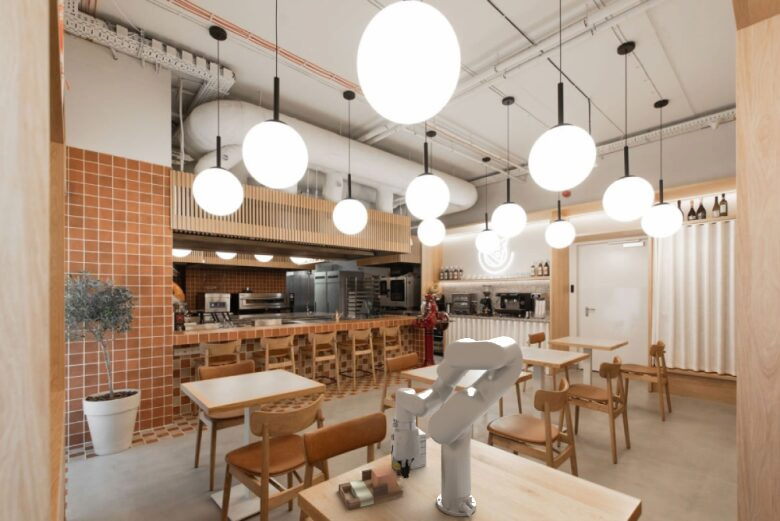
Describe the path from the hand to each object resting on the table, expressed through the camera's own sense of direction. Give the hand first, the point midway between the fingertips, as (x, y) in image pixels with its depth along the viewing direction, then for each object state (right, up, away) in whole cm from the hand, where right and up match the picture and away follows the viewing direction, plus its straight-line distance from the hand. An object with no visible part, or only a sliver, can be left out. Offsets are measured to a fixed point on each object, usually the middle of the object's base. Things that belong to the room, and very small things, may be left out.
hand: (404, 476), depth 131 cm
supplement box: (+4, -4, +15) cm, 17 cm away
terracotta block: (-8, -1, -4) cm, 8 cm away
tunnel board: (-12, -3, -6) cm, 14 cm away
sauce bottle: (-2, -4, +10) cm, 10 cm away
